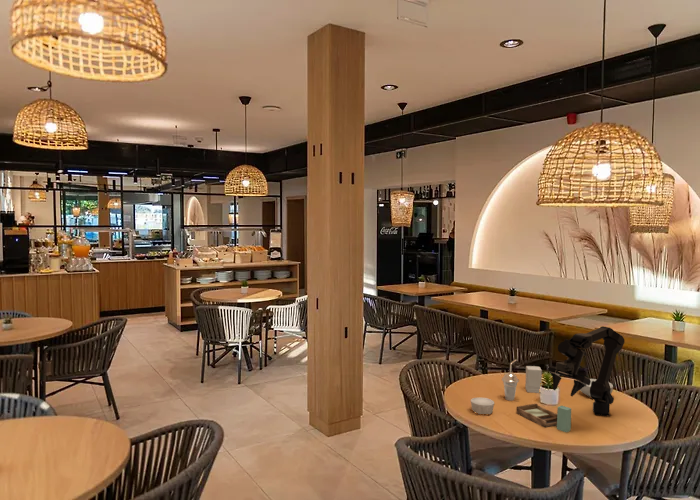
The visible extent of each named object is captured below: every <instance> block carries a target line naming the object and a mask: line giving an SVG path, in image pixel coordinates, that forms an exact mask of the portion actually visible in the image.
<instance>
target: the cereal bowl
mask: <svg viewBox="0 0 700 500" xmlns="http://www.w3.org/2000/svg"><path fill="white" fill-rule="evenodd" d="M589 379H590V381H591V382H590V385H586V386H584V387H583V388H581V389H580V390H579V391H580V392H581V393H583V394H584V395H586V396H587V397H588V398H591V395H590V387H591V383H592V381H596V380H597V379H598V378H597V379H596V378H589ZM609 385H610V388H611V391H610V394H611V395H612V393H613V390H614V386H613V383H611V382H609Z"/></svg>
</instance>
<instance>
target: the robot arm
mask: <svg viewBox="0 0 700 500" xmlns="http://www.w3.org/2000/svg"><path fill="white" fill-rule="evenodd" d="M601 339H602V340H603V346H604V350H605V351H604V354H603V358H602V362H601V365H600V369H599V372H598V375H597V376H598V377H597V380H596V381H592V383H591V387H590V395H591V397H590V399H591V400H592V401H593V400H594V401H593V402H592V412H593V413H594V415H595V416H604V417H611V415H610V407H611V406H610V405H612V404H613V403H614V401H615V399H614V396H613V395H612V393H611V394H610V391H611V388H610V385H609V383H610V379H611V375H612V372H613V369H614V364H615V360H616V358H617V354H618V353H619V352H620V351H621V350H622V349H623V346H624V344H625V340H626V339H625V338H624V336H623V335H622V334H620V333H618V332H616V331H615V330H614V329H613V328H611V327H610V326H600V327H598V328H597V329H594V330H591V331H589V332H587V333H586V332H585V333H583V332H582V333H574V334H573V336H571V338H569V339H567V338H564V339H563V340H564V341H561V342H560V343H559V344H558V345H557V351H558V352H559V353H560V354H562V355H564V356H565V357H567V359H564V361H563V362H562V361H561V362H560V361H558V362H556V364H555V366H554V365H550V366H549V367H548V368H547V372H549V374H550V375H551V377H552V390H553V391H556V390H557V388H558V387H559V384H560V382H561V380H562V377H561V376H564V377H568V378H570V379H573V385H572V389H571V391H570V394H569V395H570V396H571V397H574V396H575V395H576V394H577V393H578V392H579V391H580V389H581V388H583V387H584V386H586V385H590V382H591V381H590V379H591V378H589V377H587V376H585V375H583V374H580V373H578V372H579V369H582V366H581V364H582V361H583V357H584V356H587V353H586V350H585V349H587V350H588V349H589V348H590V347H591V346H592V345H593V343H595V342H598V341H599V340H601Z"/></svg>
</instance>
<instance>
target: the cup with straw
mask: <svg viewBox="0 0 700 500" xmlns="http://www.w3.org/2000/svg"><path fill="white" fill-rule="evenodd" d="M516 361H517V359H514V360H512V361H511V362H510V363H509V372H507V373H505V374H504V375H503V377H501V381H502V384H503V386H504V387H503V388H504V389H503V390H504V399H505V400H507V401H515V397H516V390H517V386H518V383H520V380H519V378H518V377H517V375H516V374H515V373H513V372H512V365H513V364H514V363H515V362H516Z"/></svg>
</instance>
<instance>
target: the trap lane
mask: <svg viewBox="0 0 700 500" xmlns="http://www.w3.org/2000/svg"><path fill="white" fill-rule="evenodd" d="M515 412H516V414H517V415H520V416H521V417H523V418H524V419H527V420H529V421H531V422H533V423H535V424H537V425H539V426H541V427H542V428H550V427H555V426H556V427H557V413H555V412H553V411H551V410H549V409H547V408H545V407H543V406H540V405H538V403H531V404H525V405H524V404H523V405H519V406H516V411H515Z"/></svg>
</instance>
